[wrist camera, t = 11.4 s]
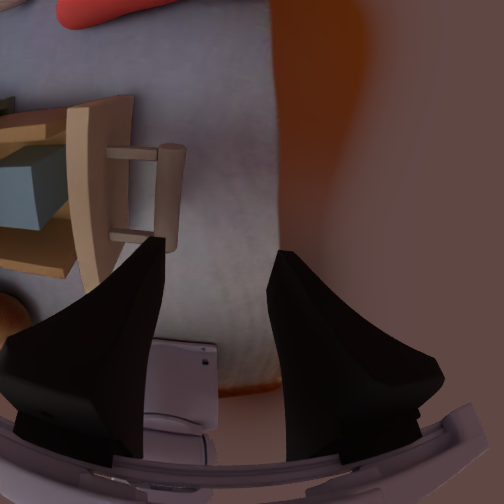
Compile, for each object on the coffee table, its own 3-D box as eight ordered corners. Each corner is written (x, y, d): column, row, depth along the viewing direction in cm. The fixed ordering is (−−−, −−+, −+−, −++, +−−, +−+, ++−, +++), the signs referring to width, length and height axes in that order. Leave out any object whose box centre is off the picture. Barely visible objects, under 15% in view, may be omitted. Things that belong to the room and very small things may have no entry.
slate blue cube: (67, 144, 14) (30, 166, 11) (70, 198, 17) (39, 230, 13) (24, 145, 14) (-14, 167, 10) (29, 196, 16) (-3, 226, 12)
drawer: (199, 99, 15) (186, 109, 10) (182, 240, 21) (171, 305, 15) (-3, 107, 12) (-62, 131, 6) (9, 222, 18) (-32, 269, 12)
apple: (51, 329, 27) (31, 383, 20) (12, 326, 26) (-9, 372, 20) (22, 279, 22) (-11, 334, 16) (-16, 280, 22) (-46, 327, 15)
